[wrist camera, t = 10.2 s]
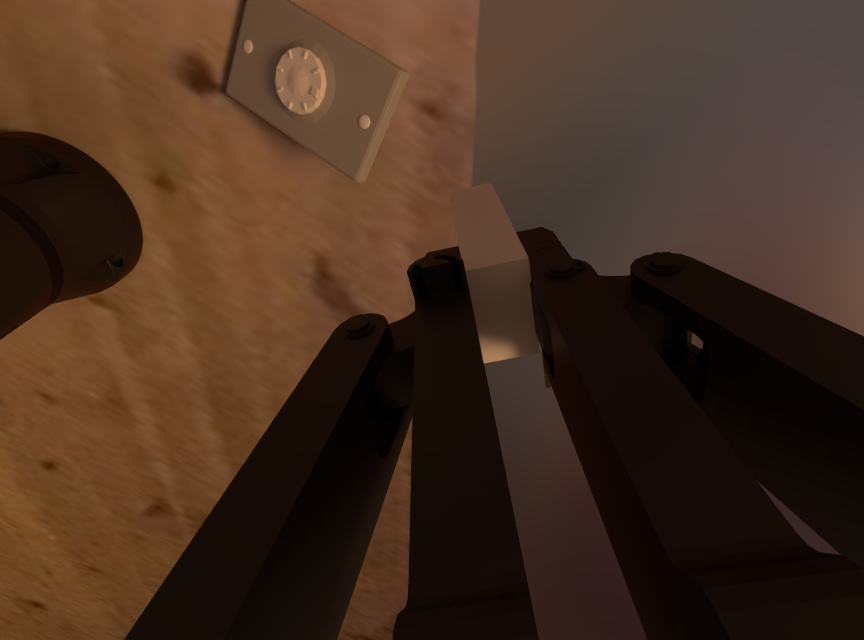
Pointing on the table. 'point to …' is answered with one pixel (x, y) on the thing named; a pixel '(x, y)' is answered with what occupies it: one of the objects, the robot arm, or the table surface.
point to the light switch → (315, 84)
